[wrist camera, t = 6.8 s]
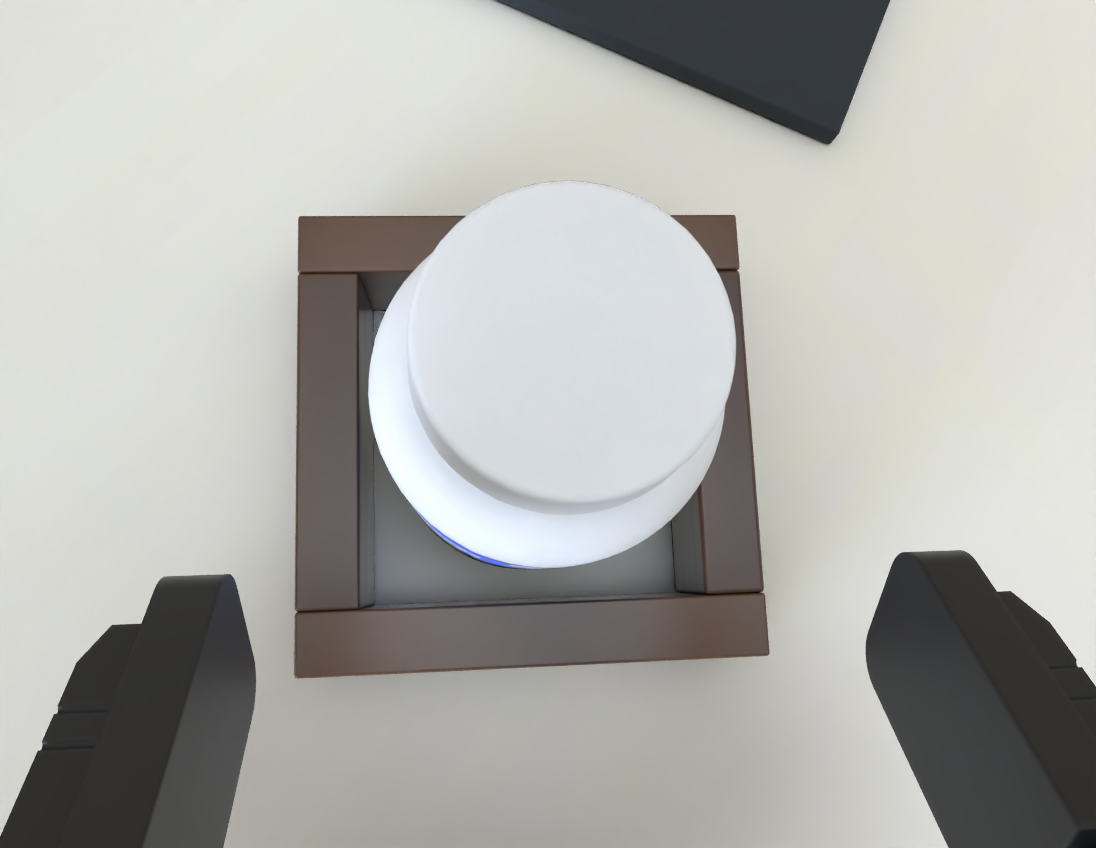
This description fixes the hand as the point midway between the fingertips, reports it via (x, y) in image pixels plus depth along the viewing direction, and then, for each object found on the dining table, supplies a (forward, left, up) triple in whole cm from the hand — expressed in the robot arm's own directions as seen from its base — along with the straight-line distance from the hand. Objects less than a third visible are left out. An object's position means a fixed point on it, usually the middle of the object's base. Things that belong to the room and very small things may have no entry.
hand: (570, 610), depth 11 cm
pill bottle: (-1, +3, -9) cm, 9 cm away
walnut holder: (-1, +3, -9) cm, 9 cm away
